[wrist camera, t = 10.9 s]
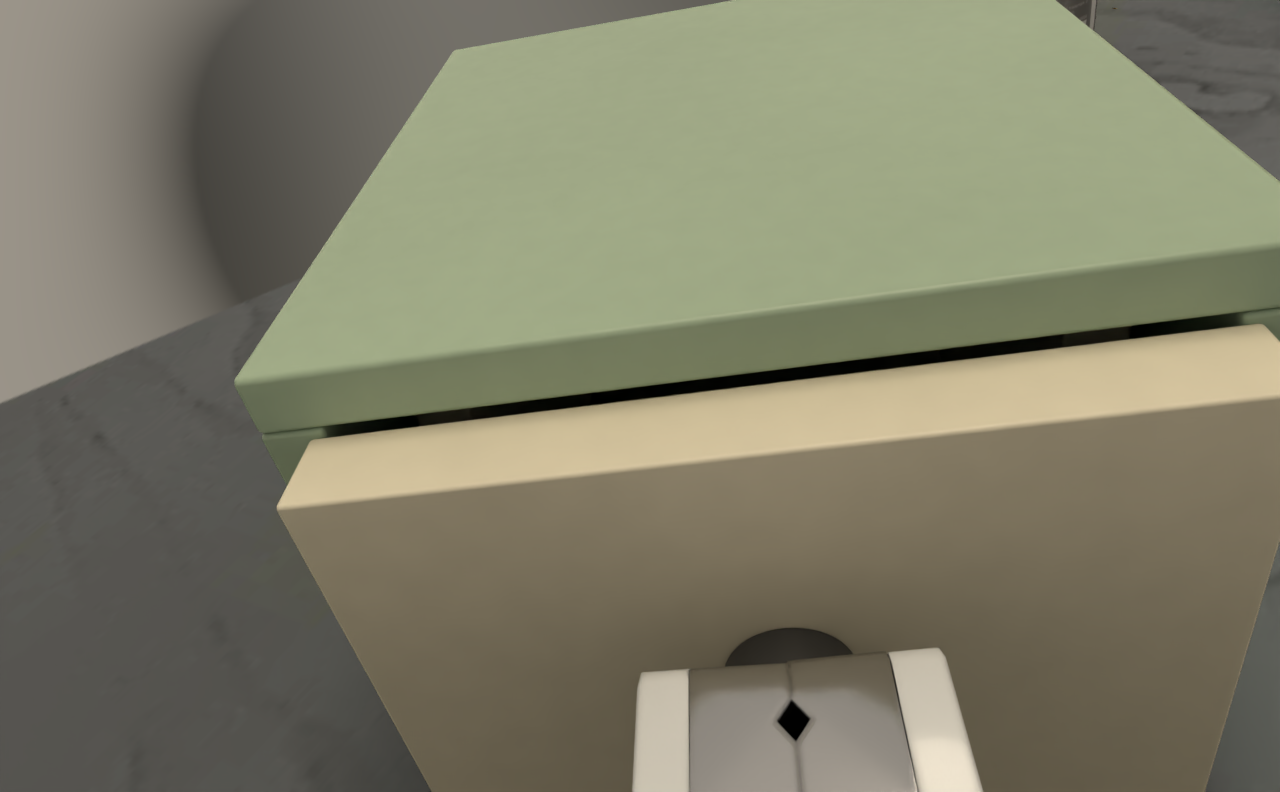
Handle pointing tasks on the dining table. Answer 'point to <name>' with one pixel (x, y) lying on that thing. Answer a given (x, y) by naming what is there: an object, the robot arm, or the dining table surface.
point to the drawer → (821, 552)
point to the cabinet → (761, 211)
